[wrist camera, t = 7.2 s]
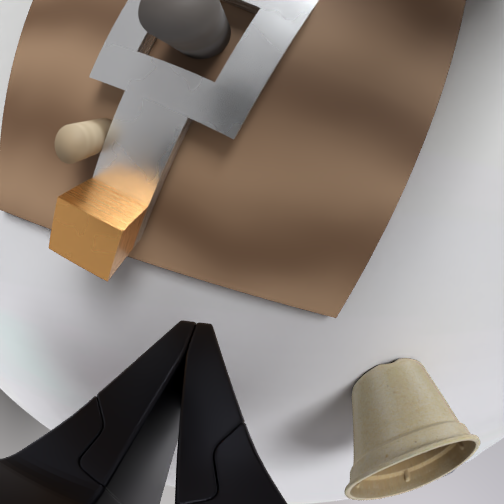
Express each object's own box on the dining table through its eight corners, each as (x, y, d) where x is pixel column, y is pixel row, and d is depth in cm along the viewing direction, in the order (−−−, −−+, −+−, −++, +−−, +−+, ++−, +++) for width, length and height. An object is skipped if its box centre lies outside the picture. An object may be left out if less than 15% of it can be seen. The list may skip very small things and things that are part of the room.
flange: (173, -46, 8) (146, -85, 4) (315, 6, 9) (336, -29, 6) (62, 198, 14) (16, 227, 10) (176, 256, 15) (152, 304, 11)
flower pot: (317, 417, 23) (326, 507, 15) (349, 340, 19) (381, 457, 11) (410, 410, 23) (434, 485, 15) (457, 337, 19) (505, 424, 11)
